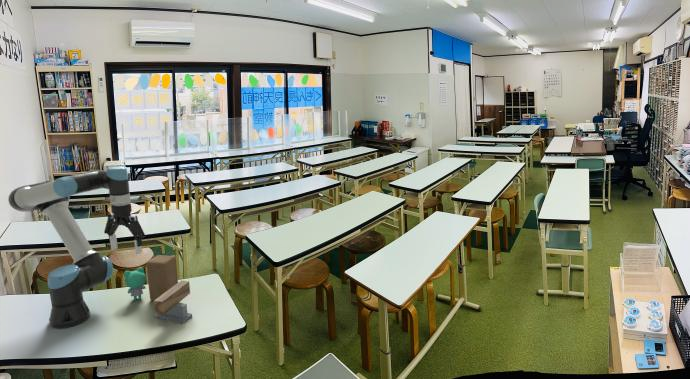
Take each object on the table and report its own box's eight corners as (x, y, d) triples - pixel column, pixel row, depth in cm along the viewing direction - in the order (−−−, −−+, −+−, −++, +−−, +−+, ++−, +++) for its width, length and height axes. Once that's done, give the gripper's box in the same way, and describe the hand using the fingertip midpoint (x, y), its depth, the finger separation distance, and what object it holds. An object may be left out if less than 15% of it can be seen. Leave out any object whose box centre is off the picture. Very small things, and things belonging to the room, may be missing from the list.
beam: (155, 313, 181) (153, 300, 180) (182, 292, 200) (181, 280, 199) (163, 314, 180) (162, 301, 179) (190, 293, 199) (189, 281, 198)
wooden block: (168, 302, 205) (164, 263, 200) (149, 300, 207) (145, 261, 202) (179, 293, 214) (176, 255, 210) (161, 291, 216) (158, 253, 212)
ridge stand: (157, 317, 191) (155, 303, 190) (166, 311, 197) (165, 297, 195) (183, 323, 187) (181, 308, 185) (192, 316, 192) (191, 302, 191)
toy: (144, 292, 214) (141, 264, 211) (150, 298, 209) (147, 269, 205) (124, 298, 208) (121, 269, 205) (130, 304, 203) (126, 275, 199)
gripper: (90, 203, 182) (97, 250, 187) (137, 208, 174) (142, 258, 178) (105, 198, 189) (111, 244, 193) (151, 204, 180) (156, 251, 185)
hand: (126, 251), depth 186 cm, fingers open, 13 cm apart
